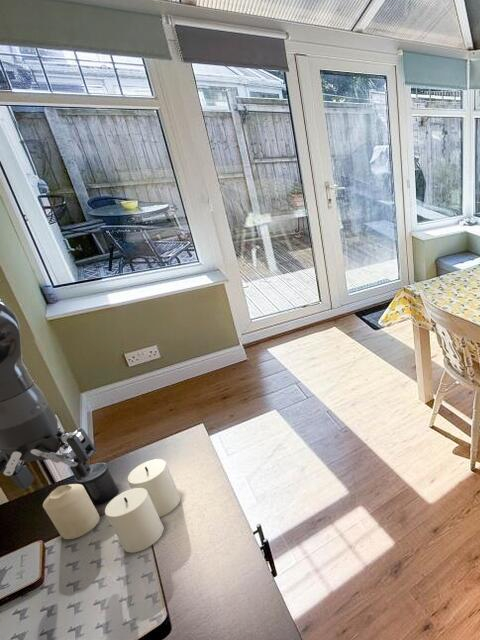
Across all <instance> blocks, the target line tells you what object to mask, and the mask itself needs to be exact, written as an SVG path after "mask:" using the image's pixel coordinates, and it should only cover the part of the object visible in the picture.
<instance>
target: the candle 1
mask: <svg viewBox="0 0 480 640" xmlns="http://www.w3.org/2000/svg"><path fill="white" fill-rule="evenodd" d="M42 508H43V509H44V511H45V512H46V514H47V516H48V518H49V519H50V521H51V522H52V524H53V526H54V528H55V529H56V531H57V532H58V533H59V536H60V537H61V538H62V539H64V540H74V539H77V538H80V537H83V536H84V535H86V534H88V533H89V532H90V531H92V530H93V529H94V528H95V527H96V526H97V525H98V523H100V514H99V512H98V510H97V508H96V507H95V505H93V503H92V501H91V499H90V497H89V496H88V494H87V492H86V490H85V488H84V486H83V485H81V484H77V483H71V484H70V483H69V484H64V485H60V486H57V487H56V488H54V489H53V490H52V491H51V492H49V494H48V495H47V497H46V498H45V499H44V501H43V503H42Z"/></svg>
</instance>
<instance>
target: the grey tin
mask: <svg viewBox="0 0 480 640" xmlns="http://www.w3.org/2000/svg"><path fill="white" fill-rule="evenodd" d="M103 464H104V465H103ZM89 466H90V467H91V471H90V472H89V474H88V475H87V476H86V477H85V478H84V479H83V480H77V479H76V477H75V476H74V481H75V484H81V485H83V486H84V488H85V490H86V492H87V494H88V496H89V497H90V499H91V501H92V503H93V505H94V506H99V505H103V504H105V503H107V502H110V501H111V500H112V499H114V498H115V497H116V496H117V495H118V492H119V488H118V485H117V484H116V482H115V480H114V478H113V475H112V474H111V472H110V468H109V466H108V464H107V462H96V463H92V464H89Z"/></svg>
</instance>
